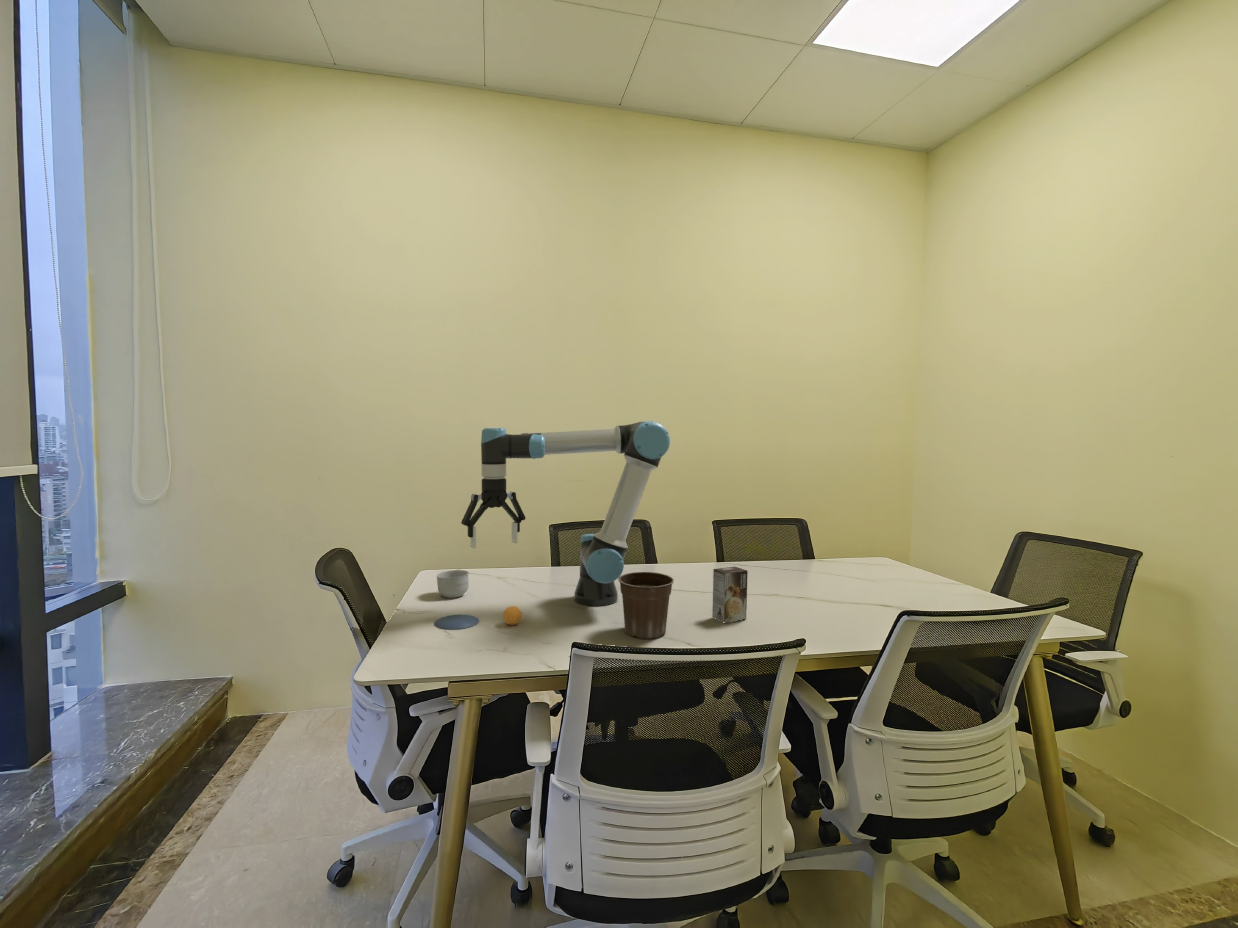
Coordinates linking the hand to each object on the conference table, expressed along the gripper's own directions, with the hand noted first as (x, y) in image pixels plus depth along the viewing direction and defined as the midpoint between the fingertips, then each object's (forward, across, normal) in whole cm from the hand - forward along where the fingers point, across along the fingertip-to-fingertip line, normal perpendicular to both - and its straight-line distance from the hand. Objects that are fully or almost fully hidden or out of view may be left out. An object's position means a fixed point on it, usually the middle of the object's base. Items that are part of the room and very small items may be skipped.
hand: (494, 545), depth 181 cm
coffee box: (+24, -63, +40) cm, 78 cm away
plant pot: (+24, -32, +36) cm, 54 cm away
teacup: (+22, +3, -28) cm, 36 cm away
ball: (+20, -1, +10) cm, 22 cm away
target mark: (+22, +12, 0) cm, 25 cm away
